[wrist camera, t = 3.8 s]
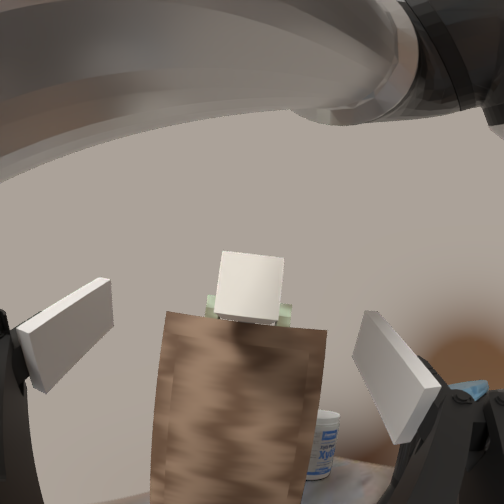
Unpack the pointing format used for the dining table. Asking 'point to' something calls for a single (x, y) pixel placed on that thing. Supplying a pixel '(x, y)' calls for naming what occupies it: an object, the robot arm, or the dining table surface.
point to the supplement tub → (323, 445)
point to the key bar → (249, 288)
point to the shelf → (234, 410)
